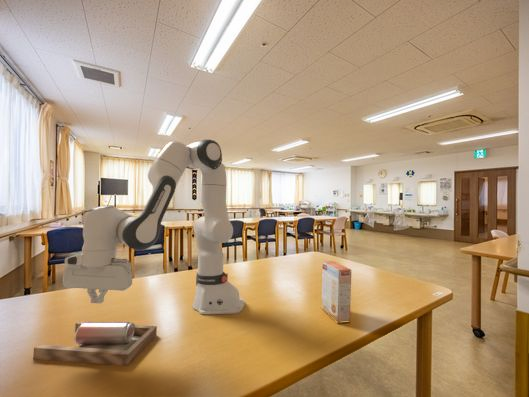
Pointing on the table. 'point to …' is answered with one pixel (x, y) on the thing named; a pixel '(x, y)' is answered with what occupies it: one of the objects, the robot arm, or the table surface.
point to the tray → (100, 349)
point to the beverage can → (104, 333)
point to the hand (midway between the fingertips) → (97, 302)
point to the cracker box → (336, 290)
